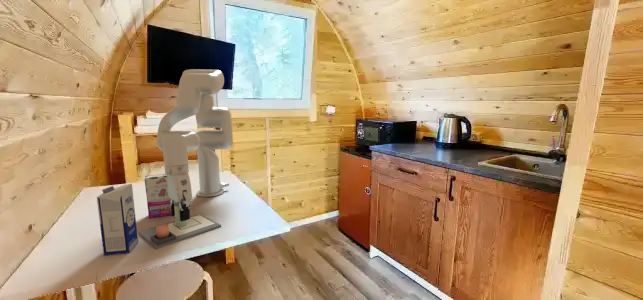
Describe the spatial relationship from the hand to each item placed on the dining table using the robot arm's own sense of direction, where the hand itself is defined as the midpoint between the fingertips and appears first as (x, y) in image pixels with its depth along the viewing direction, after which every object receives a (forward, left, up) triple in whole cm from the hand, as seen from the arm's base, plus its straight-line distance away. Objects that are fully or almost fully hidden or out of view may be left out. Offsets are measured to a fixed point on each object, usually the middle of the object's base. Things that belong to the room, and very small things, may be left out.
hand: (180, 217), depth 105 cm
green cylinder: (0, 0, -3) cm, 3 cm away
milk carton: (+19, +2, -4) cm, 20 cm away
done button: (+8, +7, -2) cm, 11 cm away
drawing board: (+1, +2, -4) cm, 5 cm away
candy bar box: (-1, -18, -4) cm, 18 cm away
